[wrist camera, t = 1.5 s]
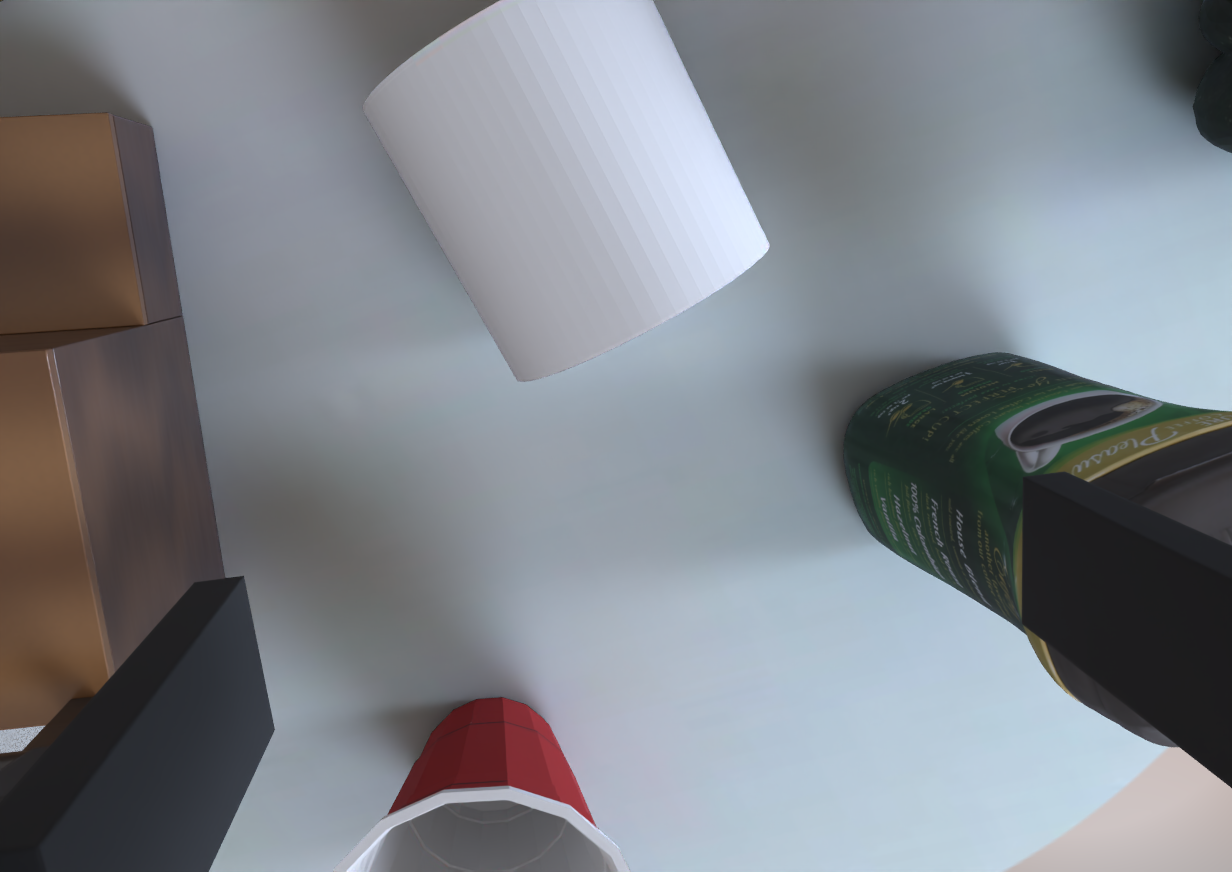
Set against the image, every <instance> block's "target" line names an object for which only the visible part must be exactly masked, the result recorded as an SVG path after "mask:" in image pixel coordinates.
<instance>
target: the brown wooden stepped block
mask: <svg viewBox="0 0 1232 872" xmlns="http://www.w3.org/2000/svg"><path fill="white" fill-rule="evenodd" d="M224 578H225V575H224V569H223V563H222V556H221V550H220V544H219V538H218V532H217V525H216V519H215V513H214V507H213V500H212V494H211V488H210V482H209V475H208V469H207V463H206V457H205V451H204V444H203V438H202V432H201V426H200V419H199V413H198V407H197V401H196V395H195V388H194V382H193V376H192V370H191V363H190V357H189V351H188V345H187V338H186V332H185V326H184V320H183V316H182V309H181V303H180V297H179V291H178V285H177V278H176V272H175V266H174V260H173V253H172V247H171V241H170V235H169V229H168V222H167V216H166V210H165V204H164V197H163V191H162V185H161V179H160V172H159V166H158V160H157V154H156V148H155V141H154V135H153V129H152V127H151V126H148V125H144V124H141V123H138V122H135V121H131V120H128V119H125V118H122V117H119V116H115V115H112V114H110V113H107V112H105V113H83V114H61V115H38V116H16V117H0V730H7V729H16V728H25V727H35V726H44V725H46V726H45V727H44V728H43V729H42V730H41V731H40V732H39V733H38V735H37V736H36V737H35V738H34V739H33V740H32V741H31V742H30V743H29V744H28V745H27V746H26V747H25V748H24V749H23V751H18V752H9V753H0V769H2V768H3V767H5V766H6V765H8V764H9V763H11V762H12V761H14V760H15V759H17V758H18V757H20V756H21V755H23V754H24V753H26V752H27V751H29V750H30V749H32V748H35V747H42V746H49V745H51V744H52V743H53V742H54V741H55V740H56V739H57V737H58V736H59V735H60V734H61V733H62V732H63V731H64V729H65V728H66V727H67V726H68V725H69V724H70V723H71V722H72V720H73V719H74V718H75V717H76V716H77V715H78V714H79V712H80V711H81V710H82V709H83V708H84V707H85V706H86V705H87V703H88V702H89V701H90V700H91V699H92V698H93V697H94V696H95V694H96V693H97V692H98V691H99V690H100V689H101V688H102V686H103V685H104V684H105V683H106V682H107V681H108V680H109V679H110V677H111V676H112V675H113V674H114V673H115V672H116V671H117V669H118V668H119V667H120V666H121V665H122V664H123V663H124V662H125V660H126V659H127V658H128V657H129V656H130V655H131V654H132V652H133V651H134V650H135V649H136V648H137V647H138V646H139V645H140V643H141V642H142V641H143V640H144V639H145V638H146V637H147V636H148V634H149V633H150V632H151V631H152V630H153V629H154V628H155V626H156V625H157V624H158V623H159V622H160V621H161V620H162V619H163V617H164V616H165V615H166V614H167V613H168V612H169V611H170V609H171V608H172V607H173V606H174V605H175V604H176V603H177V602H178V600H179V599H180V598H181V597H182V596H183V595H184V594H185V593H186V591H187V590H188V589H189V588H190V587H191V586H192V585H193V583H194V582H201V581H208V580H216V579H224Z"/></svg>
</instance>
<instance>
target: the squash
mask: <svg viewBox="0 0 1232 872" xmlns="http://www.w3.org/2000/svg"><path fill="white" fill-rule="evenodd" d="M1199 25H1200V30H1201V32H1202V34H1203V36H1204V37H1205V38H1206V40H1207V41H1208V42H1209V43H1210V44H1211V45H1213V46H1214V47H1215V48H1217V49H1219V50H1221V51H1222V52H1224V53H1223V54H1222V55H1221V56H1219V57H1218V58H1217V59H1216V60H1215V61H1214V62H1213V63H1212V64H1211V65H1210V66H1209V68H1208V69H1207V71H1206V73H1205V75H1204V77H1203V78H1202V80H1201V82H1200V84H1199V86H1198V89H1197V92H1196V96H1195V100H1194V104H1193V110H1194V114H1195V118H1196V124H1197V127H1198V130H1199V132H1200V134H1201V135H1202V136H1203V137H1204V138H1205V139H1206V140H1208V141H1209V142H1210V143H1212V144H1213V145H1215V146H1217V147H1219V148H1221V149H1223V150H1225V151H1227V152H1230V153H1232V0H1203V3H1202V6H1201V9H1200V14H1199Z"/></svg>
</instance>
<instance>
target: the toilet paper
mask: <svg viewBox="0 0 1232 872" xmlns="http://www.w3.org/2000/svg"><path fill="white" fill-rule="evenodd" d="M363 112H364V114H365V115H366V117H367V119H368V121H369V122H370V124H371V126H372V128H373V129H374V131H375V133H376V135H377V136H378V138H379V140H380V141H381V143H382V145H383V147H384V148H385V150H386V152H387V154H388V155H389V157H390V159H391V161H392V162H393V164H394V166H395V168H396V169H397V171H398V173H399V175H400V176H401V178H402V180H403V182H404V183H405V185H406V187H407V189H408V190H409V192H410V194H411V196H412V197H413V199H414V201H415V203H416V204H417V206H418V208H419V210H420V211H421V213H422V215H423V217H424V218H425V220H426V222H427V224H428V225H429V227H430V229H431V231H432V232H433V234H434V236H435V238H436V239H437V241H438V243H439V245H440V246H441V248H442V250H443V252H444V253H445V255H446V257H447V259H448V260H449V262H450V264H451V266H452V267H453V269H454V271H455V273H456V274H457V276H458V278H459V280H460V281H461V283H462V285H463V287H464V288H465V290H466V292H467V294H468V295H469V297H470V299H471V301H472V302H473V304H474V306H475V308H476V309H477V311H478V313H479V315H480V316H481V318H482V320H483V322H484V323H485V325H486V327H487V329H488V330H489V332H490V334H491V336H492V337H493V339H494V341H495V342H496V344H497V346H498V348H499V349H500V351H501V353H502V355H503V356H504V358H505V360H506V362H507V363H508V365H509V367H510V369H511V370H512V372H513V374H514V376H515V377H516V379H517V380H518V381H521V382H525V381H532V380H536V379H540V378H543V377H547V376H550V375H553V374H556V373H558V372H561V371H564V370H566V369H569V368H571V367H574V366H576V365H579V364H581V363H583V362H586V361H588V360H590V359H593V358H595V357H597V356H599V355H601V354H603V353H606V352H608V351H610V350H612V349H614V348H616V347H618V346H620V345H622V344H624V343H626V342H628V341H630V340H632V339H634V338H636V337H638V336H640V335H642V334H644V333H646V332H648V331H649V330H651V329H653V328H655V327H657V326H659V325H661V324H662V323H664V322H666V321H668V320H670V319H671V318H673V317H675V316H677V315H678V314H680V313H682V312H684V311H685V310H687V309H689V308H690V307H692V306H694V305H695V304H697V303H699V302H700V301H702V300H704V299H705V298H707V297H708V296H710V295H712V294H713V293H715V292H716V291H718V290H719V289H721V288H722V287H724V286H725V285H727V284H728V283H730V282H731V281H733V280H734V279H735V278H737V277H738V276H740V275H741V274H742V273H744V272H745V271H746V270H748V269H749V268H750V267H751V266H753V265H754V264H755V263H756V262H757V261H758V260H759V259H760V258H761V257H762V256H763V255H764V254H765V253H766V252H767V251H768V249H769V246H770V245H769V243H768V241H767V239H766V236H765V234H764V232H763V230H762V228H761V226H760V224H759V222H758V220H757V218H756V216H755V213H754V211H753V209H752V207H751V205H750V203H749V201H748V199H747V197H746V195H745V192H744V190H743V188H742V186H741V184H740V182H739V180H738V178H737V176H736V174H735V171H734V169H733V167H732V165H731V163H730V161H729V159H728V157H727V155H726V153H725V151H724V148H723V146H722V144H721V142H720V140H719V138H718V136H717V134H716V132H715V130H714V127H713V125H712V123H711V121H710V119H709V117H708V115H707V113H706V111H705V109H704V106H703V104H702V102H701V100H700V98H699V96H698V94H697V92H696V90H695V88H694V85H693V83H692V81H691V79H690V77H689V75H688V73H687V71H686V69H685V67H684V65H683V62H682V60H681V58H680V56H679V54H678V52H677V50H676V48H675V46H674V44H673V41H672V39H671V37H670V35H669V33H668V31H667V29H666V27H665V25H664V23H663V20H662V18H661V16H660V14H659V12H658V10H657V8H656V6H655V4H654V2H653V0H500V1H498V2H496V3H494V4H493V5H491V6H489V7H487V8H485V9H484V10H482V11H480V12H478V13H477V14H475V15H473V16H472V17H470V18H468V19H467V20H465V21H463V22H462V23H460V24H459V25H457V26H455V27H454V28H452V29H451V30H449V31H448V32H446V33H445V34H443V35H442V36H440V37H438V38H437V39H435V40H434V41H433V42H431V43H430V44H428V45H427V46H425V47H424V48H423V49H421V50H420V51H418V52H417V53H416V54H414V55H413V56H412V57H410V58H409V59H408V60H406V61H405V62H404V63H403V64H401V65H400V66H399V67H398V68H396V69H395V70H394V71H393V72H392V73H390V74H389V75H388V76H387V77H386V78H385V79H384V80H383V81H382V82H381V83H380V84H379V85H378V86H377V87H376V88H375V89H374V90H373V91H372V92H371V93H370V95H369V96H368V97H367V99H366V101H365V103H364V105H363Z"/></svg>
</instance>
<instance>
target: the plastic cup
mask: <svg viewBox="0 0 1232 872" xmlns="http://www.w3.org/2000/svg"><path fill="white" fill-rule="evenodd" d="M333 872H631V871H630V869H629V867H628V865H627V863H626V861H625V859H624V857H623V855H622V853H621V851H620V849H619V848H618V846H617V845H616V844H615V843H614V842H613V841H612V840H611V839H610V838H608V837H607V836H606V835H605V834H604V833H602V832H601V831H600V830H599V828H597V827H596V825H595V823H594V821H593V818H592V816H591V814H590V811H589V809H588V807H587V804H586V802H585V799H584V797H583V795H582V792H581V790H580V788H579V785H578V783H577V781H576V778H575V776H574V774H573V772H572V770H571V768H570V766H569V764H568V762H567V760H566V758H565V757H564V755H563V753H562V750H561V748H560V746H559V744H558V742H557V740H556V738H555V736H554V734H553V732H552V730H551V728H550V726H549V724H548V723H546V722H545V720H544V719H543V718H542V717H541V716H540V715H538V714H537V713H536V712H535V711H533V710H532V709H531V708H530V707H528V706H527V705H526V704H523V703H519V702H516V701H513V700H509V699H506V698H503V697H499V698H485V699H476V700H474V701H472V702H469V703H467V704H465V705H463V706H461V707H458V708H456V709H454V710H453V711H452V712H451V713H450V714H449V715H448V716H447V717H446V718H445V719H444V720H443V721H442V722H441V723H440V724H439V725H438V726H437V727H436V729H435V730H434V731H433V732H432V733H431V735H430V737H429V739H428V741H427V743H426V745H425V748H424V750H423V752H422V754H421V756H420V758H419V759H418V760H417V761H416V762H415V763H414V765H413V767H412V769H411V771H410V773H409V775H408V777H407V779H406V780H405V782H404V784H403V786H402V788H401V790H400V792H399V794H398V796H397V798H396V800H395V801H394V803H393V805H392V807H391V809H390V811H389V813H388V815H386V816H384V817H383V818H382V819H381V820H380V821H379V822H378V823H377V824H376V825H375V826H374V827H373V828H372V829H371V830H370V831H369V832H368V833H367V834H366V835H365V836H364V838H363V839H362V840H361V841H360V842H359V843H358V844H357V845H356V846H355V847H354V848H353V849H352V850H351V851H350V852H349V853H348V854H347V855H346V856H345V857H344V858H343V859H342V860H341V861H340V862H339V863H338V864H337V866H336V867H335V868H334V870H333Z"/></svg>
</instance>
